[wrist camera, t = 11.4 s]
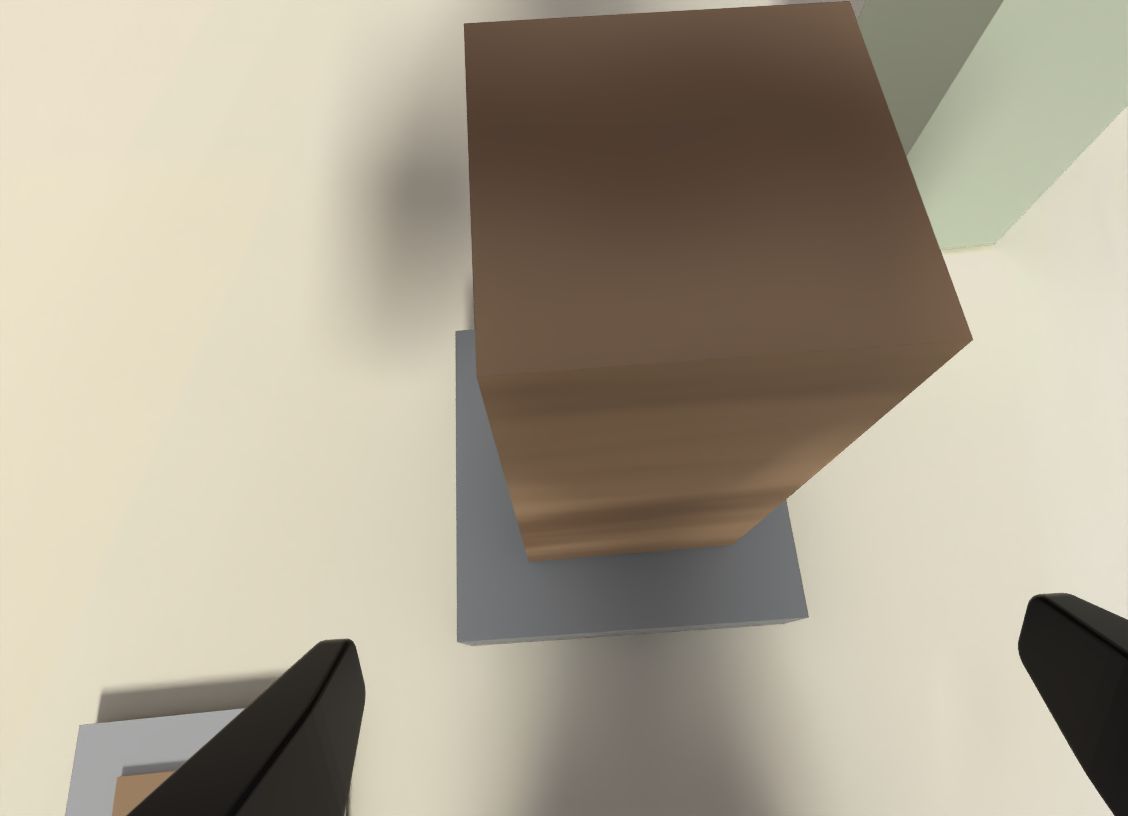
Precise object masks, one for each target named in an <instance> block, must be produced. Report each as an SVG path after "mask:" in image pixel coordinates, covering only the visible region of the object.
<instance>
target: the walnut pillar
mask: <svg viewBox="0 0 1128 816" xmlns="http://www.w3.org/2000/svg"><path fill="white" fill-rule="evenodd" d="M464 40H465V68H466V97H467V125H468V153H469V181H470V209H471V237H472V265H473V294H474V322H475V350H476V377H477V380H478V384H479V388H480V391H481V395H482V398H483V402H484V405H485V409H486V412H487V416H488V419H489V423H490V427H491V430H492V434H493V437H494V441H495V444H496V448H497V451H498V455H499V458H500V462H501V466H502V469H503V473H504V476H505V480H506V483H507V487H508V490H509V494H510V497H511V501H512V505H513V508H514V512H515V515H516V519H517V522H518V526H519V529H520V533H521V536H522V540H523V544H524V547H525V551H526V554H527V558H528V561H529V562H536V561H548V560H559V559H571V558H583V557H595V556H607V555H619V554H631V553H643V552H655V551H667V550H678V549H690V548H702V547H714V546H726V545H733V544H734V543H735V542H737V541H738V540H739V539H740V538H741V537H742V536H744V535H745V534H746V533H747V532H748V531H749V530H751V529H752V528H753V527H754V526H755V525H756V524H758V523H759V522H760V521H761V520H762V519H763V518H765V517H766V516H767V515H768V514H769V513H771V512H772V511H773V510H774V509H775V508H776V507H778V506H779V505H780V504H781V503H782V502H783V501H785V500H786V499H787V498H788V497H789V496H790V495H792V494H793V493H794V492H795V491H796V490H797V489H799V488H800V487H801V486H802V485H803V484H804V483H806V482H807V481H808V480H809V479H810V478H812V477H813V476H814V475H815V474H816V473H817V472H819V471H820V470H821V469H822V468H823V467H824V466H826V465H827V464H828V463H829V462H830V461H831V460H833V459H834V458H835V457H836V456H837V455H838V454H840V453H841V452H842V451H843V450H844V449H845V448H847V447H848V446H849V445H850V444H851V443H852V442H854V441H855V440H856V439H857V438H858V437H860V436H861V435H862V434H863V433H864V432H865V431H867V430H868V429H869V428H870V427H871V426H872V425H874V424H875V423H876V422H877V421H878V420H879V419H881V418H882V417H883V416H884V415H885V414H886V413H888V412H889V411H890V410H891V409H892V408H893V407H895V406H896V405H897V404H898V403H899V402H901V401H902V400H903V399H904V398H905V397H906V396H908V395H909V394H910V393H911V392H912V391H913V390H915V389H916V388H917V387H918V386H919V385H920V384H922V383H923V382H924V381H925V380H926V379H927V378H929V377H930V376H931V375H932V374H933V373H934V372H936V371H937V370H938V369H939V368H940V367H941V366H943V365H944V364H945V363H946V362H947V361H949V360H950V359H951V358H952V357H953V356H954V355H956V354H957V353H958V352H959V351H960V350H961V349H963V348H964V347H965V346H966V345H967V344H968V343H970V342H971V341H972V340H973V338H972V335H971V332H970V330H969V327H968V324H967V321H966V319H965V316H964V313H963V310H962V308H961V305H960V302H959V300H958V297H957V294H956V291H955V289H954V286H953V283H952V280H951V278H950V275H949V272H948V269H947V267H946V264H945V261H944V258H943V256H942V253H941V250H940V247H939V245H938V242H937V239H936V236H935V234H934V231H933V228H932V226H931V223H930V220H929V217H928V215H927V212H926V209H925V206H924V204H923V201H922V198H921V195H920V193H919V190H918V187H917V184H916V182H915V179H914V176H913V173H912V171H911V168H910V165H909V163H908V160H907V157H906V154H905V152H904V149H903V146H902V143H901V141H900V138H899V135H898V132H897V130H896V127H895V124H894V121H893V119H892V116H891V113H890V110H889V108H888V105H887V102H886V99H885V97H884V94H883V91H882V89H881V86H880V83H879V80H878V78H877V75H876V72H875V69H874V67H873V64H872V61H871V58H870V56H869V53H868V50H867V47H866V45H865V42H864V39H863V36H862V34H861V31H860V28H859V25H858V23H857V20H856V17H855V15H854V12H853V9H852V6H851V4H850V1H843V2H826V3H808V4H791V5H774V6H757V7H740V8H722V9H705V10H688V11H671V12H654V13H637V14H619V15H602V16H585V17H568V18H551V19H533V20H516V21H499V22H482V23H465V24H464Z"/></svg>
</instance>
